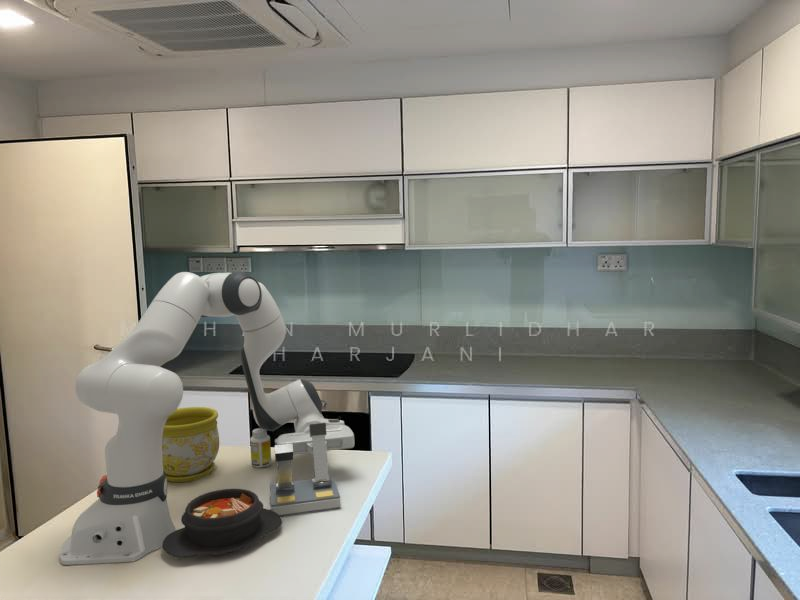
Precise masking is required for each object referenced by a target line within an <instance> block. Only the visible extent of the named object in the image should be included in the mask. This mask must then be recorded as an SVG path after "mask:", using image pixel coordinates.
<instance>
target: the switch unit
mask: <svg viewBox="0 0 800 600" xmlns="http://www.w3.org/2000/svg"><path fill="white" fill-rule="evenodd" d="M327 480H331V482H332V486H327V487H319V488H313V482H319V481H327ZM327 480H319V481H315V478H311V479H304V480H296V481H292V485H294V489H295V491H287V492H279V493H276V487H278V482H277V483H272V484H269V490H270V491H269V492H270V506H271V509H270V510H271V511H273V512H275V513H277V514H278V515H279V516H280V517H286V516H293V515H294V516H295V515H301V514H308V513H317V512H323V511H331V510H338V509H341V496H340V492H339V488H338V487H337V483H336V480H335V477H334V476H329V479H327Z"/></svg>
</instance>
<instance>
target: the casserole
mask: <svg viewBox="0 0 800 600" xmlns="http://www.w3.org/2000/svg"><path fill="white" fill-rule="evenodd" d="M184 510H185V511H184V512H183V514H182V515H181V519H180V520H181V524H182V525H183V526H184V527H182V528H179V529H177V530H176V529H175V530H176V531H174V532H172V533H170V534H169V535H167V536H166V538H165V539H164V541H163V546H162V549H163V550H164V552H165V553H166V554H167V555H169V556H171V557H174V558H176V559H177V558H179V559H185V558H192V557H197V556H205V555H206V556H207V555H208V556H209V555H211V556H212V555H221V554H227V553H228V554H229V553H231V552H235V551H239V550H242V549H244V548H245V549H246V547H249V546H250V545H253V544H254V543H256V542H257V541H259V540H261V539H262V538H263V537H264V536H266V535H269V534H270V533H272V532H275V531H276V530H278V529H279V528H280V527H281V526H282V524H283V521H282V518H281V517H282V516H279V515H278V514H277V513H275V512H273V511H271V509H268V508H264V504H263V503H262V501H261V500H260V499H259V497H258V495H257V493H255V492H253V491H251V490H248V489H245V488H224V489H223V488H222V489H218V490H213V491H209V492H206V493H203V494H200V495H199V496H197V497H195V498H194V499H192V500H190V501H189V503H187V505H186V507H185V509H184Z"/></svg>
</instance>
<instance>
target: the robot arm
mask: <svg viewBox="0 0 800 600" xmlns="http://www.w3.org/2000/svg"><path fill="white" fill-rule="evenodd" d="M233 316H235V317H236V319H237V322H238V325H239V326H240V329H241V331H242V333H243V338H244V340H243V342H244V343H243V345H242V347H241V348H240V350H239V357H240V362H241V365H242V371H243V374H244V379H245V381H246V385H247V389H248V393H249V396H250V399H251V403H252V414H253V419H254V420H255V423H256V424H257V425H258V427H259V428H262V429H264V430H267V431H268V432H270V431H271V432H274V431H275V430H278V429H279V428H280V427H283V426H284V425H285V424H287V423H289V422H291V421H293V426H294V427H293V428H294V432H291V433H283V434H279V436H278V437H277V438H275V439H274V443H275V445H284V444H292V445H293V456H294V455H295V456H296V455H301V454H311V455H313V447H312V437H310V431H309V425H310V424H320V423H326V433H327V434H326V436H325V442H326V452H328V451H336V450H339V451H340V450H347V449H353V448H354V447H355V434H354V432H353V430H352V429H351V428H350V426H348V425H346V424H345V421H344V420H341V419H340V420H339V419H327V418H325V417H324V416H323V414H322V412H323V406H324V405H323V403H322V400H321V398H320V395H319V392H318V391H317V388H315V386H314V384H313V383H312V382H311V381H308V380H306V379H304V378H300V379H296V380H294V381H293V382H290V383H288V384H286V385H285V386H282V387H280V388H278V389H276V390H274V391H271V392H270V393H269V392H268V393H265V391H264V387H263V383H262V379H261V375H260V369H261V367H262V365H264V363H265V362H266V361H267V360H268V358H270V357H271V356H272V355H273V354H275V352H276V351H277V350H278V349H279V348H280V347H281V345H282V343H284V340H285V338H286V334H287V327H286V324H285V321H284V318H283V315H282V313H281V310H280V308H279V307H278V304H277V302H276V301H275V299H274V298H273V296H272V294H271V293H270V291H269V290H268V289H267V288H266V286H265V285H264V284H263V283H261V282H260V281H258V280H257V279H256V278H255V277H254V276H253V275H252V274H250V273H247V272H243V271H233V272H213V273H209V274H205V275H197V274H196V273H194V272H189V271H181V272H177V273H176V274H174V275H173V276H172V277H171V278H170V279H168V280H167V282H166V283H165V284H164V285H163V286H162V288H161V289H160V290H159V291H158V293H157V294H156V295H155V296H154V298H153V299H152V301H151V303H150V304H149V306H148V307H147V309H146V310H145V312H144V314H143V315H142V316H141V317H140V320H139V321H138V322H137V324H136V326H135V327H134V328H133V330H132V331H131V332H130V333H129V334H128V335H127V336H126V337H125V338H124V339H123V340H122V341H121V342H120V343H119V344H117V346H115V347H113V349H112V350H111V351H110V352H108V353H107V354H106V355H105V356H103V357H102V358H101V359H99V360H97V361H95V362H93V363H91V364H89V365H87V366H86V367H84V368H83V369H82V370H81V371H80V373H79V374H78V375H77V378H76V380H75V388H74V389H75V394H76V397H77V399H78V400H79V401H80V403H82V404H83V405H85V406H86V407H89V408H91V409H93V410H95V411H98V412H101V413H107V414H113V415H117V416H118V417H117V418H118V426H117V431H116V434H115V435H114V436H112V437H110V439H109V440H108V442H106V445H105V448H104V457H105V468H106V474H105V475H103V476H102V477H100V478H101V479H100V480H99V482H98V483H99V484H98V486H97V490H96V496H97V497H96V498H97V499H96V500H95V501H94V502H93V503H92V504H91V505H89V506H88V507H87V508H86V509H85V510H84V511H83V512H82V513H80V514H79V516H78V517H77V518H76V520H75V522H74V524H73V527H72V530H71V534H70V535H71V536H70V537H69V538H68V539H67V540H66V541H65V542H64V543H63V545H62V547H61V548H60V552H59V562H60V563H61V565H63V566H68V565H88V564H89V565H90V564H92V565H93V564H109V563H129V562H135V561H138V560H139V559H141V558H143V557H144V556H146V555H147V554H149V553H151V552H153V551H156V550H157V549H160V548H163V541H164V539H165V538H166V536H167V535H169V534H170V533H172V532H174V531H176V527H175V526H174V522H173V520H172V517H171V514H170V509H169V505H168V500H167V498H168V493H169V491H168V480H167V478H166V474H165V471H164V470H163V460H162V435H163V430H164V426H165V424H166V421H167V419H168V417H169V416H170V415H171V414H172V413H173V412H174V411H175V410H176V409H179V407H180V405H181V402H182V400H183V395H184V385H183V381H182V380H181V378H180V376H179V375H178V374H177V373H176V372H173V371H171V370H170V369H167V368H164V367H162V366H163V365H164V364H166V363H168V362H169V361H172V360H174V359H175V358H177V357H178V356H179V355H180V354H181V353H182V351H183V349H184V347H185V346H186V344H187V342H188V341H189V339H190V338H191V336H192V334H193V332H194V330H195V328H197V325H198V323H199V321H200V320H201V317H202V318H207V317H210V318H211V317H212V318H213V317H214V318H216V317H217V318H225V317H233Z"/></svg>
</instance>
